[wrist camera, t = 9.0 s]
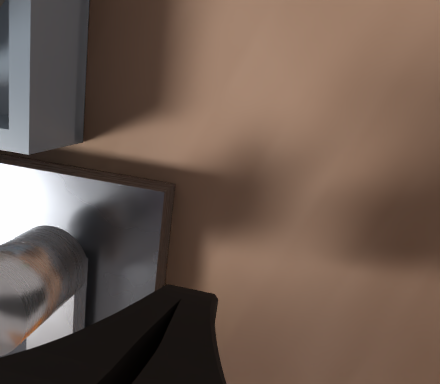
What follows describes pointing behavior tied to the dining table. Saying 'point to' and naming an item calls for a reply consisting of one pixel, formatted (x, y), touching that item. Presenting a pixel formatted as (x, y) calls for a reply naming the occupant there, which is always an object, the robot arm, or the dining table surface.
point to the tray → (42, 74)
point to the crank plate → (94, 225)
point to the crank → (41, 287)
